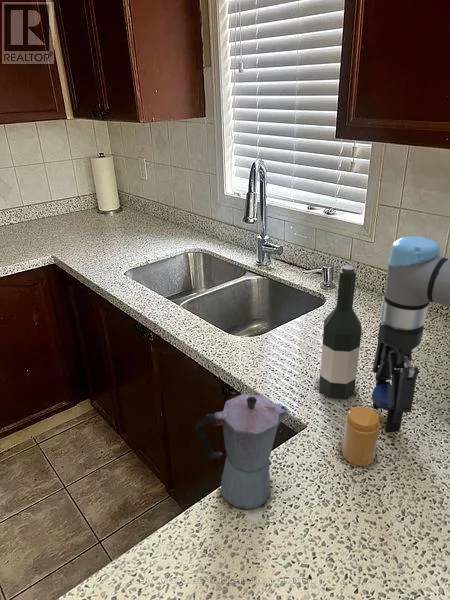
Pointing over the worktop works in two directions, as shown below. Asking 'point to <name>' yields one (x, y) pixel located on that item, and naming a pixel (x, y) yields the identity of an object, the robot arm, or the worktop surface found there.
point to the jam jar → (360, 436)
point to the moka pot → (245, 447)
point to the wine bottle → (341, 341)
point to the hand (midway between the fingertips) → (385, 418)
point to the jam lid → (382, 396)
